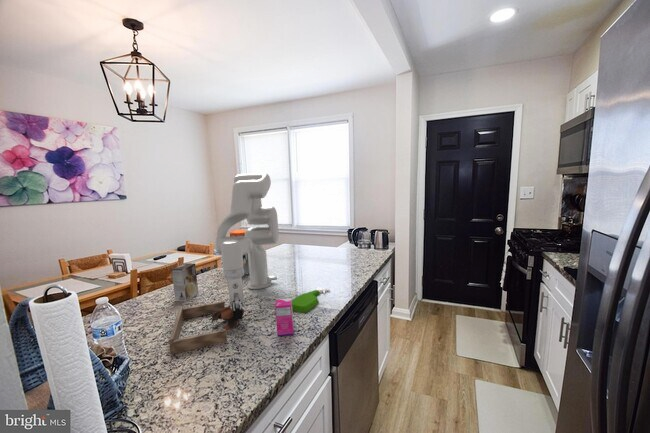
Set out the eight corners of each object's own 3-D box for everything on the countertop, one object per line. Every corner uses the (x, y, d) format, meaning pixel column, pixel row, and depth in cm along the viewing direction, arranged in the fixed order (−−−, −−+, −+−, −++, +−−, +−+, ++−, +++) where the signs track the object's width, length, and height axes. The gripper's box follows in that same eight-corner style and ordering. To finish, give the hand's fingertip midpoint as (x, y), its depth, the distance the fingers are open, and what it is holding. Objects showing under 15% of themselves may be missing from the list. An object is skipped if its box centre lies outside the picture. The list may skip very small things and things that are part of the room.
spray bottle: (285, 310, 116) (313, 290, 138) (307, 314, 111) (332, 293, 133) (284, 303, 116) (313, 284, 137) (306, 307, 111) (332, 287, 132)
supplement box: (278, 328, 101) (276, 298, 99) (294, 327, 101) (292, 297, 100) (276, 336, 95) (274, 305, 94) (293, 335, 95) (291, 304, 94)
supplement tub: (224, 274, 166) (220, 232, 163) (241, 266, 180) (238, 228, 177) (245, 276, 160) (241, 233, 157) (261, 268, 174) (258, 229, 171)
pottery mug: (217, 337, 97) (208, 315, 99) (217, 336, 106) (209, 316, 107) (248, 320, 102) (240, 299, 104) (247, 320, 111) (239, 301, 112)
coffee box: (187, 293, 138) (184, 262, 136) (198, 294, 137) (195, 263, 135) (174, 301, 129) (170, 268, 127) (186, 301, 128) (182, 268, 126)
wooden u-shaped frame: (225, 309, 118) (224, 298, 117) (227, 341, 93) (225, 327, 93) (180, 318, 112) (179, 306, 111) (170, 354, 87) (168, 340, 87)
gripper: (246, 277, 98) (249, 321, 100) (241, 265, 114) (244, 303, 116) (224, 280, 95) (228, 326, 97) (222, 267, 111) (226, 307, 113)
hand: (237, 314), depth 107 cm, fingers open, 9 cm apart
